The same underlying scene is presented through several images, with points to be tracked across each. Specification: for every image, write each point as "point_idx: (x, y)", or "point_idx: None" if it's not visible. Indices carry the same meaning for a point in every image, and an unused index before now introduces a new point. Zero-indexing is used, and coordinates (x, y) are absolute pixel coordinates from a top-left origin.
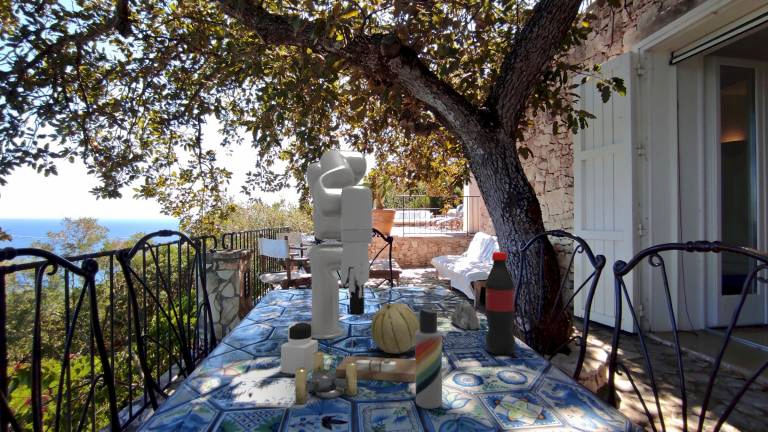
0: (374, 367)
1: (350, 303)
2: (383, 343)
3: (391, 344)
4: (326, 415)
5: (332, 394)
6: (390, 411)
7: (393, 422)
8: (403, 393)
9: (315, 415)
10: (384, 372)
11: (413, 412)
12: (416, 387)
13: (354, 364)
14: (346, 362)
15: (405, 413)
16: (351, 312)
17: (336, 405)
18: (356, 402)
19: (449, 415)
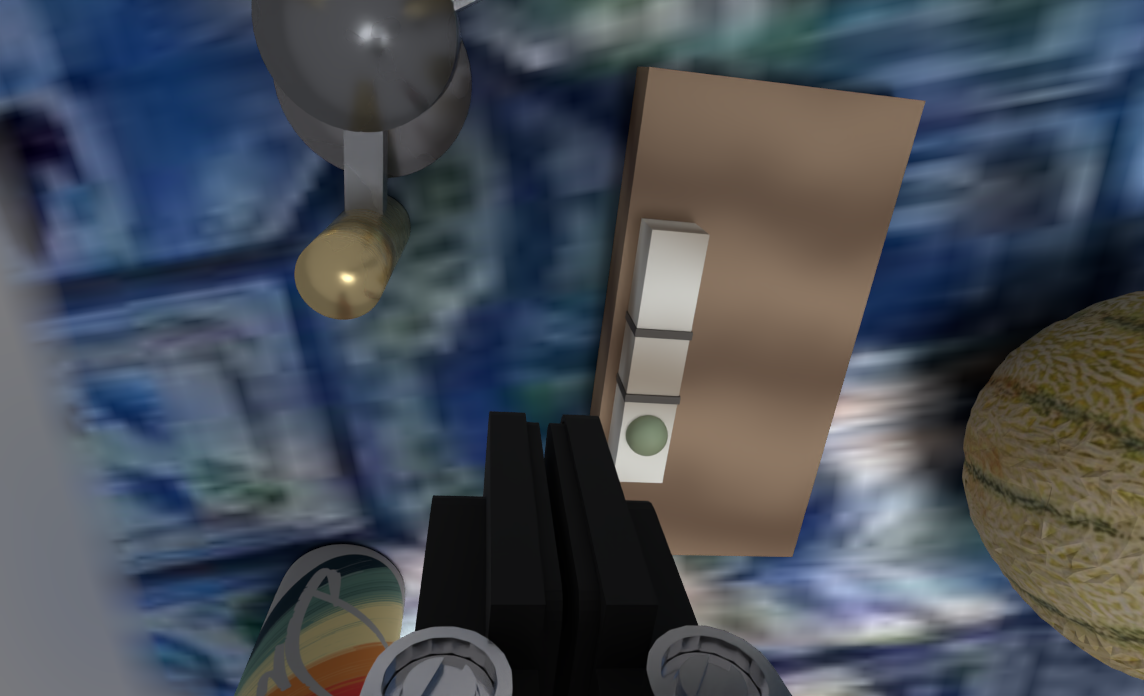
0: (625, 351)
1: (489, 530)
2: (1010, 380)
3: (977, 434)
4: (67, 126)
5: (288, 118)
6: (218, 446)
7: (111, 469)
8: (435, 484)
9: (43, 55)
10: (601, 401)
11: (236, 537)
12: (291, 606)
13: (313, 307)
14: (783, 127)
15: (217, 508)
16: (488, 447)
17: (211, 160)
18: (278, 270)
19: (247, 659)
